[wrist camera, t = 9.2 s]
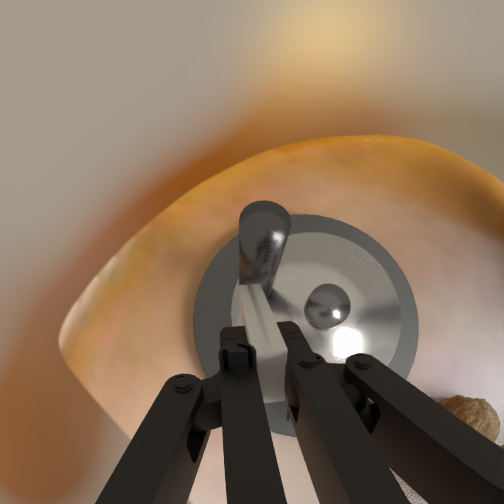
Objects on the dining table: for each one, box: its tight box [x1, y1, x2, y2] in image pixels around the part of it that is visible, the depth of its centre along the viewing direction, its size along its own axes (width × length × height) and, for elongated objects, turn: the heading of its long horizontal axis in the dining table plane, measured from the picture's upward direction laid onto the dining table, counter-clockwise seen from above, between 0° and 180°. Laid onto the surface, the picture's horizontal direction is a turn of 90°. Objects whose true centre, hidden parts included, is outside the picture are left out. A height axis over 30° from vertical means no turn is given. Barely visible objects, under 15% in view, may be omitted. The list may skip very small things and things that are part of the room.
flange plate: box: [231, 201, 401, 396], centre depth 16 cm, size 14×16×10 cm
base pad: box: [193, 215, 418, 437], centre depth 20 cm, size 20×20×4 cm
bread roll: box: [438, 395, 500, 442], centre depth 14 cm, size 10×10×8 cm
